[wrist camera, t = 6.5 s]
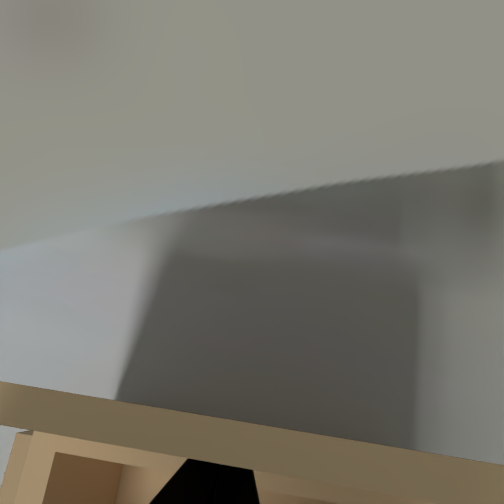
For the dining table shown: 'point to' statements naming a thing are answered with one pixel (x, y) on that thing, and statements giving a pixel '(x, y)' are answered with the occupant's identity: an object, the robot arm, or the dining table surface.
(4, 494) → the carton
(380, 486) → the flap
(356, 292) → the dining table surface
